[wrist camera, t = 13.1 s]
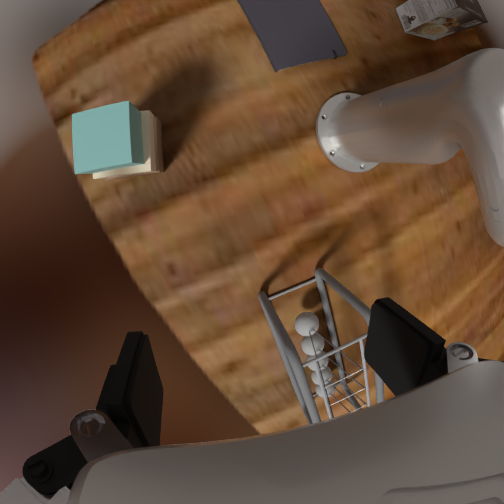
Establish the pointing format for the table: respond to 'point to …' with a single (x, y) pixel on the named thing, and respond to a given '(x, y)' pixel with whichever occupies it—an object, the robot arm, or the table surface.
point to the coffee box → (439, 17)
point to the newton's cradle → (319, 350)
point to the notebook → (293, 31)
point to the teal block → (107, 138)
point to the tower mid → (148, 150)
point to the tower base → (159, 154)
